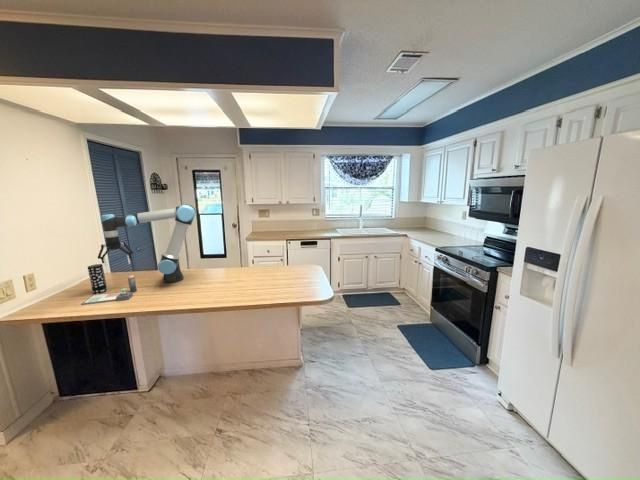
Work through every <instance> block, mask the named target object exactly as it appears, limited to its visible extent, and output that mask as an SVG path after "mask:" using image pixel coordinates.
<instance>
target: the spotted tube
mask: <svg viewBox="0 0 640 480" xmlns="http://www.w3.org/2000/svg"><path fill="white" fill-rule="evenodd" d="M87 271H88V276H89V280H90V284H91V285H90V286H91V289H92V295H98V294H105V293H106V292H107V291H108V286H107V281H106V276H105V272H104V266H103V263H102V264H101V263H100V264H99V263H98V264H91V265H88V266H87Z"/></svg>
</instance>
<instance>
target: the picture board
mask: <svg viewBox="0 0 640 480" xmlns="http://www.w3.org/2000/svg"><path fill="white" fill-rule="evenodd" d="M120 293H122V291H117V292H109V293H100V294H92V295H91V296H90V297H88V298H87V299H85V301H83V302H82V303H81V306H83V305H93V304H101V303H110V302H118V301H117V299H116V297H117V296H118V295H119V294H120Z"/></svg>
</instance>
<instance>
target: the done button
mask: <svg viewBox="0 0 640 480" xmlns="http://www.w3.org/2000/svg"><path fill="white" fill-rule="evenodd" d="M119 290H120V291H119V292H122V295H127V294H126V292H127V290H128V289H127V287H125V288H124V287H123V288H121V289H119Z"/></svg>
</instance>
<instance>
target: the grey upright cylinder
mask: <svg viewBox="0 0 640 480" xmlns="http://www.w3.org/2000/svg"><path fill="white" fill-rule="evenodd" d="M126 278H127V281H128V283H127V284H128V286H129V292H133V293H136V292H137V291H138V289H137V285H136V279H135V274H130V275H127V277H126Z"/></svg>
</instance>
